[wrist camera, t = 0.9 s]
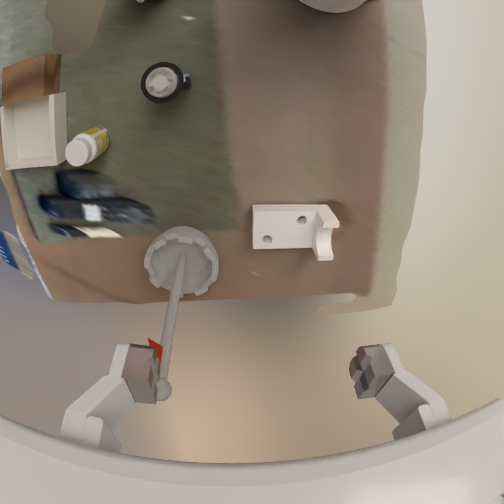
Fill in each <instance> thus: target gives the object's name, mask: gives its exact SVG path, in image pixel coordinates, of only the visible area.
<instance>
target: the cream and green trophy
mask: <svg viewBox="0 0 504 504" xmlns="http://www.w3.org/2000/svg"><path fill="white" fill-rule="evenodd" d="M136 1H137V2H143V1H147V2H156V1H159V0H136Z"/></svg>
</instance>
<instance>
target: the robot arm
mask: <svg viewBox="0 0 504 504" xmlns="http://www.w3.org/2000/svg"><path fill="white" fill-rule="evenodd" d="M299 1H301V2H302V3H304V4H306V5H308V6H310V7H312V8H314V9H317V10H320V11H324V12H331V13H342V12H348V11H351V10H354V9H356V8H357V7H359V6H360V5H361V4H363V3H364V2H365V1H367V0H299ZM356 353H357V355H356V356H355V357H354V358H353V359H352V360H351V362H350V367H349V371H350V376H351V378H352V379H353V380H354V381H355V382H356V383H355V386H354V388H355V391H356V394H357V397H358V399H364V398H371V397H375V398H376V400H377V401H378V402H379V403H380V404H381V405H382V406H383V407H384V408H385V409H386V410H387V411H388V412H389V413H390V414H391V415H392V416H393V417H394V418H395V419H396V420H397V421H398V422H399V423H400V425H398V426H397V427H396V428H395V429H394V430H393V432H392V433H393V437H394V440H393V441H390V442H386V443H383V444H379V445H375V446H371V447H367V448H363V449H358V450H354V451H349V452H344V453H338V454H333V455H327V456H321V457H314V458H307V459H299V460H289V461H277V462H263V463H198V462H182V461H172V460H162V459H154V458H147V457H140V456H134V455H128V454H123V453H120V447H121V443H120V442H119V441H118V439H117V438H116V437H115V436H114V435H113V433H112V430H113V429H114V428H115V427H116V426H117V425H118V423H119V422H120V421H121V420H122V419H123V418H124V416H125V415H126V414H127V413H128V412H129V410H130V409H131V408H132V407H133V406H134V405H135V402H139V403H149V404H156V400H157V392H158V389H157V386H156V383H157V382H158V381H159V378H160V361H159V358H157V348H156V347H154V346H145V345H137V344H130V343H121V342H119V343H118V344H117V345H116V349H115V352H114V356H113V359H112V362H111V366H110V369H109V373H108V376H103V377H102V378H101V379H100V380H99V381H98V382H96V383H95V384H94V385H93V386H92V387H91V388H90V389H89V390H87V391H86V392H85V393H84V394H83V395H82V396H81V397H80V398H78V399H77V400H76V401H75V402H74V403H73V404H71V405H70V406H69V407H68V408H67V409H66V412H65V416H64V419H63V423H62V427H61V431H60V435H59V437H56V436H53V435H50V434H47V433H44V432H41V431H38V430H36V429H33V428H31V427H28V426H26V425H23V424H21V423H18V422H15V421H13V420H11V419H9V418H7V417H4V416H2V415H0V504H504V400H503V399H496V400H493V401H491V402H490V403H488V404H486V405H484V406H482V407H480V408H477V409H476V410H473V411H471V412H469V413H467V414H465V415H462V416H460V417H458V418H455V419H453V420H452V418H451V416H450V413H449V411H448V409H447V407H446V404H445V402H444V400H443V398H442V397H441V396H439V395H438V394H437V393H435V392H434V391H433V390H431V389H430V388H429V387H428V386H426V385H425V384H424V383H422V382H421V381H420V380H419V379H417V378H416V377H415V376H413V375H412V374H411V373H409V372H408V371H407V372H405V370H404V368H403V366H402V364H401V361H400V359H399V357H398V355H397V353H396V351H395V349H394V347H393V345H392V344H390V343H389V344H381V345H380V344H377V345H369V346H361V347H359V348H358V349H357V351H356Z"/></svg>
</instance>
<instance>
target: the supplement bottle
mask: <svg viewBox="0 0 504 504" xmlns="http://www.w3.org/2000/svg"><path fill="white" fill-rule="evenodd" d="M110 143H111V137H110V134H109V132H108V130H107V129H105V128H104V127H101V126H96V127H93V128H91V129H89V130H87V131H85V132H83V133H81V134H79V135H77V136H76V137H75V138H74V139H73V140H72V141H71V142H70V143H69V144H68V145H67V147H66V150H65V156H66V159H67V161H68V162H69V163H70V164H71V165H73V166H81V165H83V164H86V163H89V162H91V161H92V160H94V159H95V158H97V157H98V156H99V155H101V154H102V153H103V152H105V151H106V150H107V149H108V148H109V146H110Z"/></svg>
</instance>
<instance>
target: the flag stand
mask: <svg viewBox="0 0 504 504" xmlns="http://www.w3.org/2000/svg"><path fill="white" fill-rule="evenodd" d="M144 268H147V271H148V273H149V274H150V277H149V280H150V282H151V283H152V284H153V285H154V286H155V287H156V288H157V289H158V288H159V287H160V286H161V287H163V288H165V289H167V290H169V291H170V298H169V303H168V307H167V312H166V317H165V323H164V328H163V333H162V338H161V344H160V345H159V344H157V343H156V342H154V341H152V340H150V339H149V338H148V341H149V345H150V346H154V347H156V348H157V358H159V361H160V378H159V381H158V382H157V383H156V386H157V389H158V392H157V400H156V401H164V400H166V399H168V398H169V397H170V395H171V391H172V388H171V385H170V383H169V382H168V381H167V376H168V369H169V361H170V354H171V347H172V341H173V334H174V328H175V322H176V316H177V309H178V303H179V298H180V297H181V298H183V295H184V294H187V293H195V295H196V296H198V295H201V294H203V293H205V292H206V291H208V286H209V285H210V284H211V283H212V282H213V281H215V282H216V279H217V277H218V269H219V260H218V255H217V252H216V250H215V248H214V246H213V245H212V244H211V242H210V240H209V239H208V237H207V236H206V235H205V234H203V233H202V232H201V231H199V230H197V229H195V228H191V227H187V226H177V227H173V228H170V229H168V230H166V231H165V232H164V233H162V234H160V235H159V236H157V237H156V238H155V239H154V240H153V241H152V242H151V244H150V246H149V248H148V250H147V253H146V255H145V259H144Z"/></svg>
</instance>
